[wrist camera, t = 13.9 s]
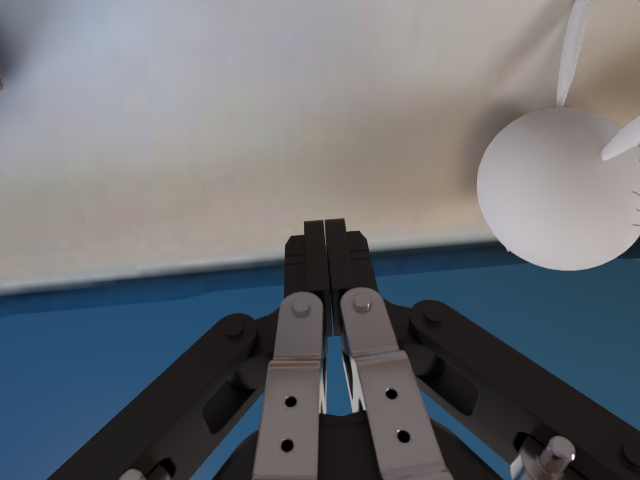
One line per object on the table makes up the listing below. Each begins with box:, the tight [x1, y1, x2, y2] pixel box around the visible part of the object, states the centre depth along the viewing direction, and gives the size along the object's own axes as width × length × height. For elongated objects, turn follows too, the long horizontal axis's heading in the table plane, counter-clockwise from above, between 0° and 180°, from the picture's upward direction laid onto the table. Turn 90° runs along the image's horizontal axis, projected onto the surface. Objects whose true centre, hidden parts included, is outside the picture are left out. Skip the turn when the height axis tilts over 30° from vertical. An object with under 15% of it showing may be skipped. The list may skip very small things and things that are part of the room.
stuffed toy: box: [477, 0, 640, 270], centre depth 37 cm, size 19×14×25 cm
